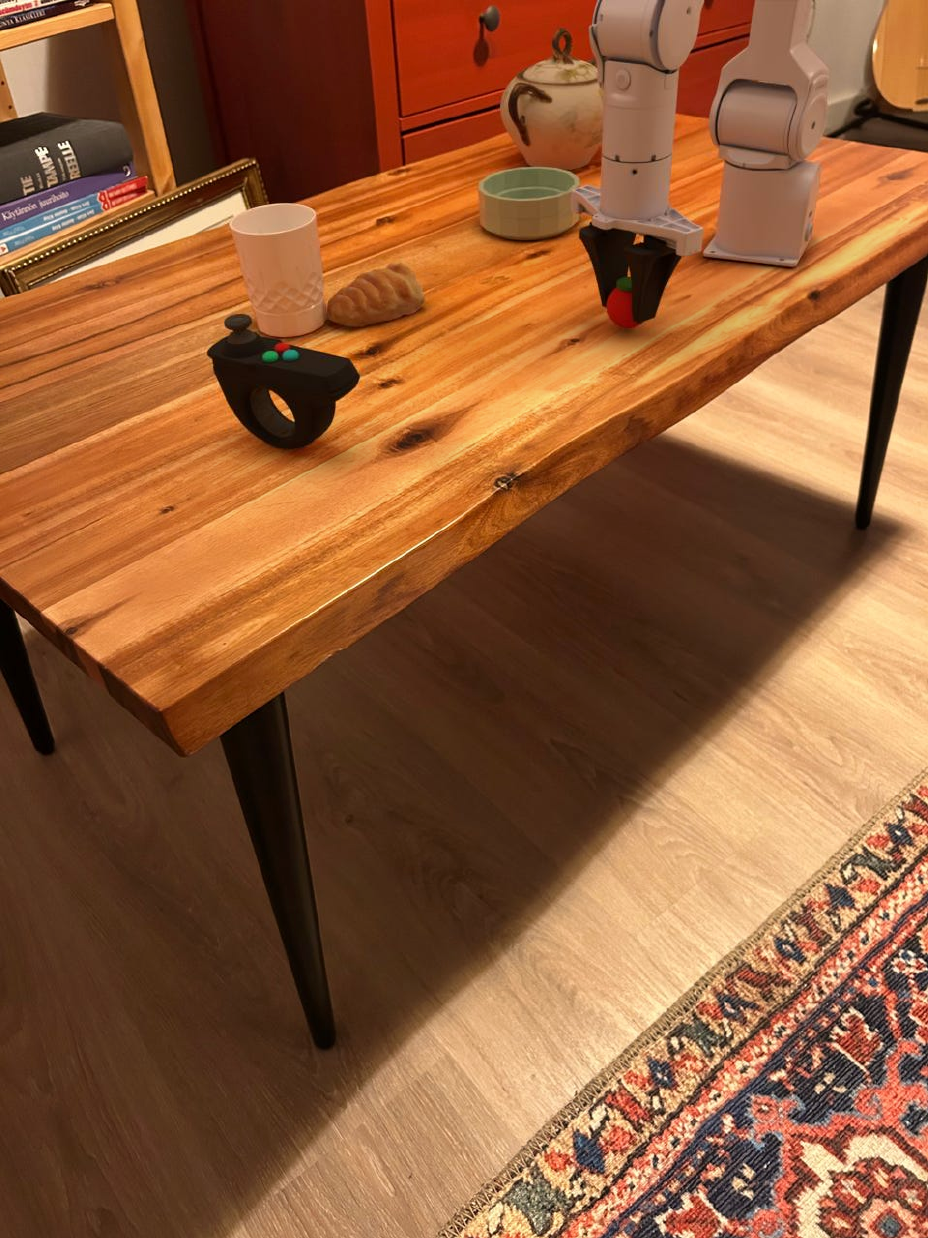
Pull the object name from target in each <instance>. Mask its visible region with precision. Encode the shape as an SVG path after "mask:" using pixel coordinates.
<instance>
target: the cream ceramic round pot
mask: <svg viewBox="0 0 928 1238" xmlns="http://www.w3.org/2000/svg"><path fill="white" fill-rule="evenodd" d="M561 38H563V39H564V41H565V44H564V48H563V50H562V49H561V46H560V40H561ZM551 49H552V52H553V54H552V55H551V56H549V57H548V58H547V59H545V60H542V61H538V62H536V63H534V64H533V65H530V66H529V67H526V68H524V69H522V70H520V71H519V70H518V72H517V73H516V74H515V77H514V78H513V79H512V80H511V81H510V82H509V83H508V84H507V86H506V87H505V89H504V91H503V93H502V96H501V98H500V99H501V100H500V104H499V110H500V118H501V121H502V124H503V126H504V129H505V131H506V132H507V134H508V136H509V137H510V139H511V140H512V142H513V143H514V144H515V146H516V148H517V149H518V150H519V152H520V154H521V155H522V157H523V159H524V160H525V162H526V164H527V165H528V167H548V168H558V169H561V170H565V171H573V170H577V169H580V168H583V167H585V166H587V165H588V164H589V163H590V162H591V160H592V158H593V157H594V155H595V154H596V153H597V152H598V150H599V149H600V147H602V133H603V105H604V90H602V89H601V88H600V87H599V83H598V82H597V62H596V59H595V57H593V58H592V59H589V60H588V61H584V60H581V59H579V58H577V57H576V56H571V54H572V53H573V38H572V34H571V33H570V31H568V29H566V28H565V27H559V28H558V29H557V30H556V31H555V33H554V34H553V36H552V40H551Z"/></svg>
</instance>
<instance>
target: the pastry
mask: <svg viewBox="0 0 928 1238" xmlns="http://www.w3.org/2000/svg"><path fill="white" fill-rule="evenodd" d="M424 302H425V294H424V292H423V289H422V287H421V284H420V283H419V281H418V280H417V278H416V276H415V272H414V271H413V270H412V269H411V268H410V267H409V266H408V265H406V264H405V263H403V262H399V263H393V262H390V263H389V264H388V265H387V266H386V267H384V268H376V269H375V268H374V269H372V270H370V271H366V272H362V273H360V274H359V275H357V276H356V277H355V279H354V280H353V281H352V282H351V283H349V284H348V285H347V286H343V287H341V288H340V289H339V290H338V291H337V292H336V293H335V294H333V296H332V297H331V298H329V299H328V301H327V306H326V314H327V318H326V319H328V320H330V321H331V322H333V323H336V324H339V325H341V326H345V327H353V328H354V329H355V328H356V327H360V328H362V327H366V326H368V325H378V324H379V323H384V322H386V321H387V322H389V321H393V320H396V319H400V318H401V317H402V316H404V315H407V316H410V315H412V314H415V313H416V312H417V311H419V310H420V309H421V308H422V305H423V303H424Z"/></svg>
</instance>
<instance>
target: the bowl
mask: <svg viewBox="0 0 928 1238" xmlns="http://www.w3.org/2000/svg"><path fill="white" fill-rule="evenodd" d="M580 182H581V181H580V177H579V176H578V175H576V174H574V173H573V172H572V171H570V170H567V171H565V170H561V169H558V168H548V167H532V166H525V167H523V166H521V167H515V168H510V169H502V170H499V171H498V172H494V173H490V174H488V175H486V176H485V177H484V178H482V179H481V180H480V181H479V182H478V188H477V194H478V209H479V210H478V214H479V217H478V218H479V225H480V226H481V227H482V228H483V229H485V230H486V231H487V232H489V233H491V234H493V235H494V236H497V237H500V238H503V239H508V240H517V241H532V240H541V239H547V238H552V237H555V236H558V235H561V234H563V233H565V232H567V231H568V230H569V229H571V228H572V227H573V226H575V225H576V224H577V223H578V222H579V221H580V214H576V213H573V212H571V190H573V189H576V188H579V187H581V183H580Z"/></svg>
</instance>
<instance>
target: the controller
mask: <svg viewBox="0 0 928 1238" xmlns="http://www.w3.org/2000/svg"><path fill="white" fill-rule="evenodd" d="M223 323H224V328H225V329H228V330H229V331H231V332H230V333H229V334H228V335H227V336H225V337H222V338H221V339H219V340H217V341H216V342H215V343H214V344H212V345H211V346H210V347H209V348H208V349H207V351H206V356H207V357H209V358H210V359H211V361H212V363H211V364H212V371H213V373H214V376H215V377H216V380H217V382H218V384H219V387H220V389H221V391H222V393H223V396H224V398H225V400H226V402H227V405H228V406H229V408H230V409H231V411H232V414H233V415H234V416H235V417H236V419H237V420H238V421H239V422H240V424H241V425H242V426H243V427H244V428H245V429H246V430H247V431H248V432H249V433H250V434H251V435H253V436H254V437H255V438H256V439H258V440H260V441H261V442H262V443H264V444H266V445H269V446H271V447H273V448H276V449H281V450H287V451H288V450H289V451H291V450H293V451H294V450H299V449H300V450H301V449H302V448H306V447H308V446H310V445H312V444H314V442H316V440H318V439H320V437H322V436H323V435H324V434H325V433H326V432H327V431H328V429H329V428H330V427H331V425H332V423H333V421H334V419H335V415H336V409H337V402H339V401H340V400H341V399H343V398H344V397H346V396H347V395H348V394H349V393H351V392H352V391H353V390H354V389H355V388H356V386H357V385H358V384H359V382H360V380H361V374H360V373H359V372H358V369H357V368H356V367H355V365H354V363H353V362H352V360H351V359H350V358H349V357H345V356H341V355H337V354H333V353H328V352H323V351H319V350H315V349H310V348H307V347H302V346H297V345H293V344H289V343H287V342H284V341H282V339H278V338H274V337H268V336H262V335H260V334H259V333H258V332H255V331H254V330H252V329H249V327H251V325H252V324H253V318H252V316H251V315H249V314H247V313H235V314H232V315H229V316H227V317H226V318H225V319H224V321H223ZM271 392H273V394H275V395H276V396H278V397H279V398H280V399H281V400H282V401H283V402H284V403H285V405H286V406H287V407H288V408H289V411H290V412H291V415H292V418H293V420H292V419H289V417H287V416H286V415H285V414H284V413H282V411H281V410H279V408H278V407H277V406H276V404H275V402H274V400H273V398H272V397H271Z"/></svg>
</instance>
